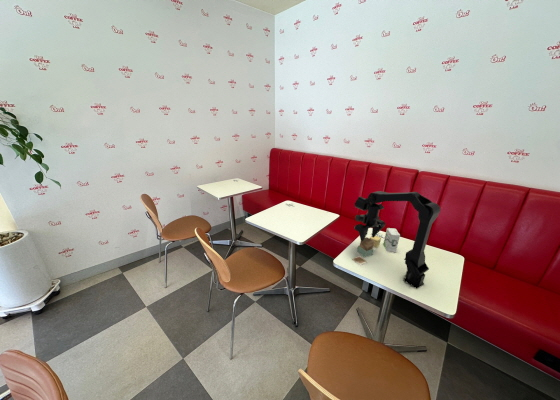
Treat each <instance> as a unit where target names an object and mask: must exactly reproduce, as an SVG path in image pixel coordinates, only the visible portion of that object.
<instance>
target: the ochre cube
mask: <svg viewBox="0 0 560 400" xmlns="http://www.w3.org/2000/svg"><path fill="white" fill-rule="evenodd" d="M368 238H369V239H371V240H373V241H374V245H373V248H376V249H377V248H378V247H379V246H380V245H381V240H382V237H380V236H377V235H375V237H372V235H371V236H370V237H368Z"/></svg>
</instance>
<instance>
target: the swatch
mask: <svg viewBox="0 0 560 400" xmlns="http://www.w3.org/2000/svg"><path fill="white" fill-rule="evenodd" d="M351 260H352V261H354V263H356V264H357V265H359V266H362V265H365V264H367V263H368V260H366V259H364V258H363V257H362V256H360V255H358V256H355V257H353V258H351Z"/></svg>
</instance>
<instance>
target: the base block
mask: <svg viewBox="0 0 560 400" xmlns="http://www.w3.org/2000/svg"><path fill="white" fill-rule="evenodd" d="M374 250H375V249H374V248H373V249H371V250H369V251H366V250H364V249H362V248H361V247H360V245H358V246H357V250H356V253H359V254H360V255H361V257H362V256H363V257H364V258H367V257H370V256H373V254H374V252H375V251H374Z"/></svg>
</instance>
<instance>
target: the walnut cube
mask: <svg viewBox="0 0 560 400" xmlns="http://www.w3.org/2000/svg"><path fill="white" fill-rule="evenodd" d="M369 238H370V237H368V236H366V237H365V239H364V240H363V241H361V240H360V243H359V246H360V247H361V248H362V249H364V250H366V251H369V250H371V249H374V247H373V245H374V241H373V240H371V239H369Z"/></svg>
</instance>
